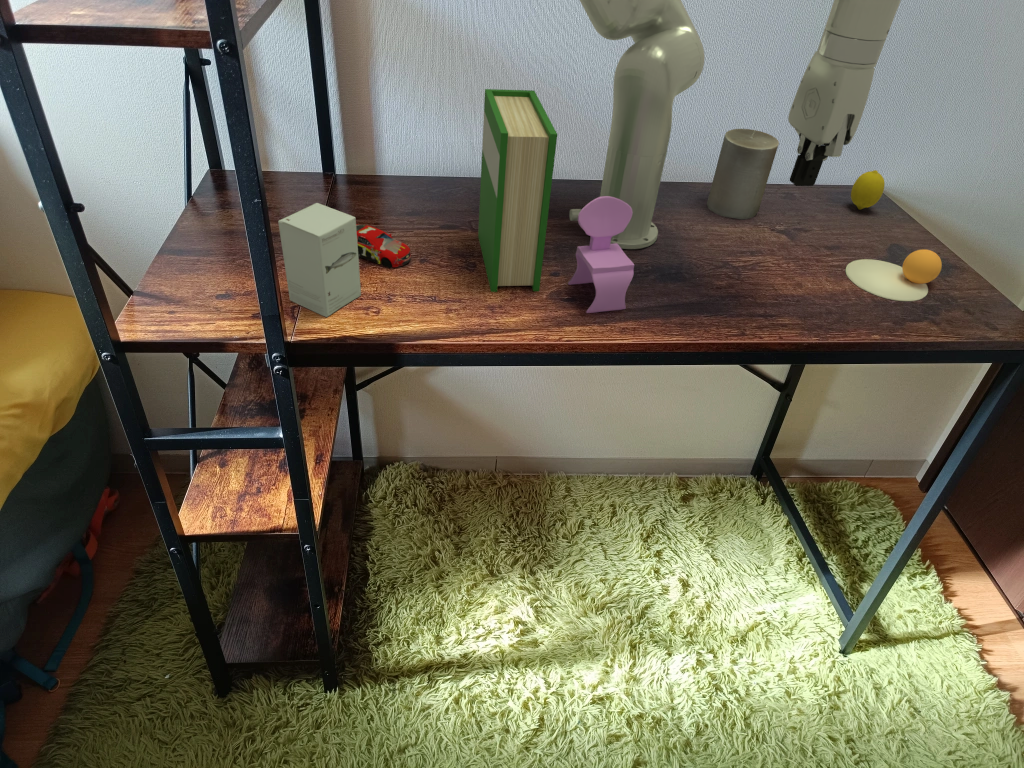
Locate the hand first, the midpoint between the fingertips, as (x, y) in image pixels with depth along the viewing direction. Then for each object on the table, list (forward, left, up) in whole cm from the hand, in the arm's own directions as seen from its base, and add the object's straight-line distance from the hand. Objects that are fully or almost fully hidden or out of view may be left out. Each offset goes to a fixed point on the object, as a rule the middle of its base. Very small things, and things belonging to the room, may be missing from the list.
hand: (801, 183), depth 101 cm
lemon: (+33, +26, -17) cm, 45 cm away
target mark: (+22, 0, -17) cm, 28 cm away
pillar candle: (+6, +27, -17) cm, 33 cm away
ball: (+27, -1, -14) cm, 31 cm away
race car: (-62, +13, -18) cm, 66 cm away
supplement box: (-69, 0, -17) cm, 71 cm away
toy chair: (-29, -2, -17) cm, 34 cm away
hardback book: (-41, +9, -17) cm, 45 cm away
